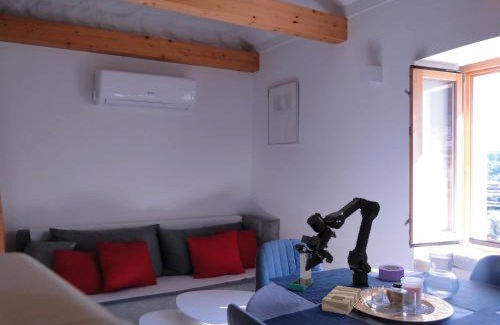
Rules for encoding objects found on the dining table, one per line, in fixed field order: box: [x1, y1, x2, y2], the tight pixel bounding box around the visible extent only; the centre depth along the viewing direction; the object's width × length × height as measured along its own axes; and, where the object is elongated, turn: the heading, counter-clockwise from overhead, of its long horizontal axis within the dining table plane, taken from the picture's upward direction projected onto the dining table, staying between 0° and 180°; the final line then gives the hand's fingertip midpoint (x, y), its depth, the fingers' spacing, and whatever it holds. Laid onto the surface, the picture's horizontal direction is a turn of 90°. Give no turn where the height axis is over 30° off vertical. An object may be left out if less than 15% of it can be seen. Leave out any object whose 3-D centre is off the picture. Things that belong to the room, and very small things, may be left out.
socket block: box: [321, 285, 362, 315], centre depth 168 cm, size 20×10×4 cm, turn 151°
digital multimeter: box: [288, 276, 314, 292], centre depth 194 cm, size 7×15×3 cm, turn 153°
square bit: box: [299, 253, 312, 287], centre depth 175 cm, size 3×3×13 cm
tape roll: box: [378, 264, 405, 282], centre depth 204 cm, size 12×12×5 cm
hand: (303, 269), depth 174 cm, fingers closed on square bit, 3 cm apart
